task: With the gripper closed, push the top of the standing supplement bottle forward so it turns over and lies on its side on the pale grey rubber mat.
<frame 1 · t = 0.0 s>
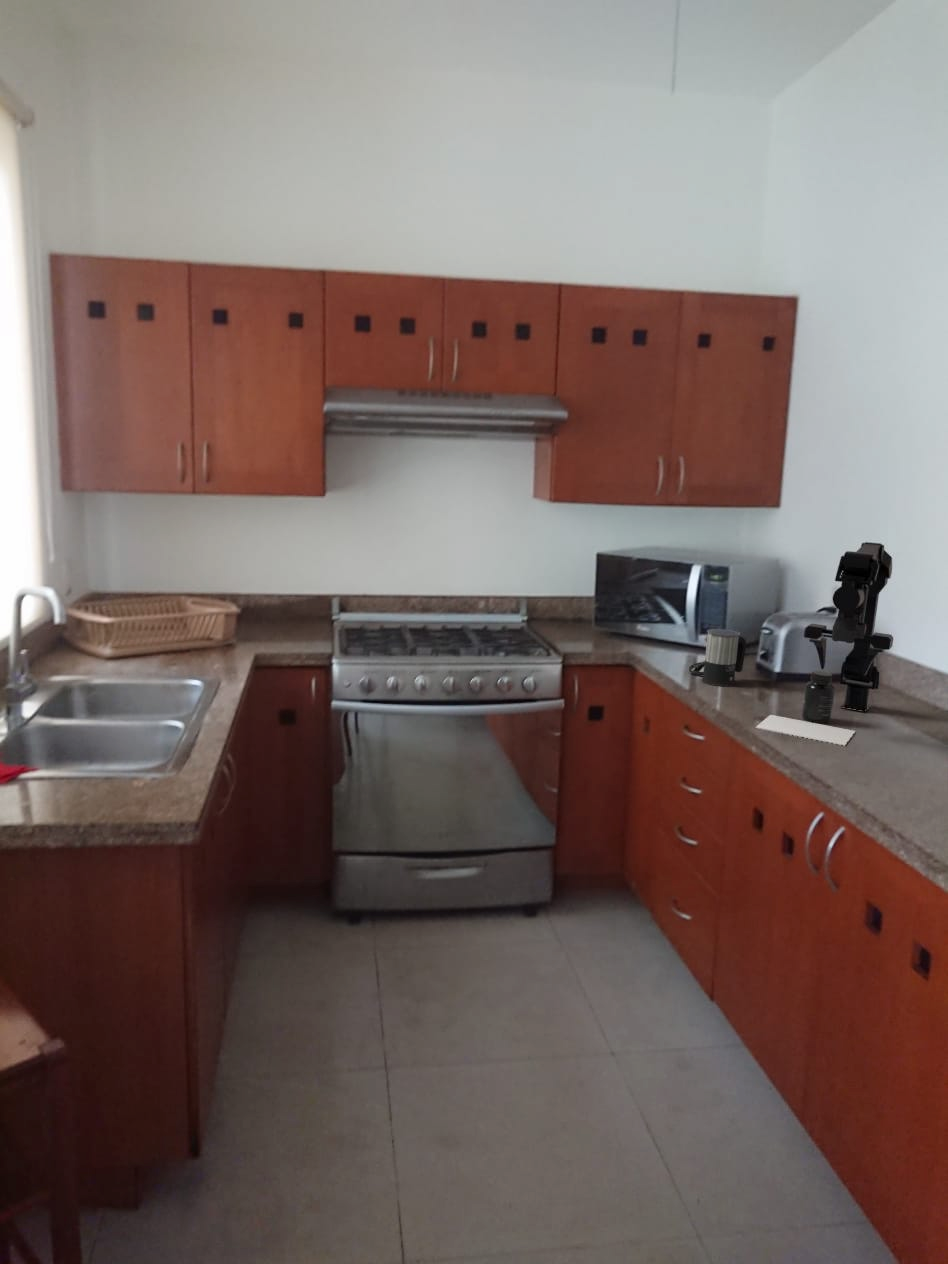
hand: (843, 672, 215), 15 cm above the worktop, tool pointing down, fingers open, 9 cm apart
milk frother: (710, 679, 265), on the worktop
supplement bottle: (815, 720, 228), on the worktop
mat: (805, 730, 218), on the worktop
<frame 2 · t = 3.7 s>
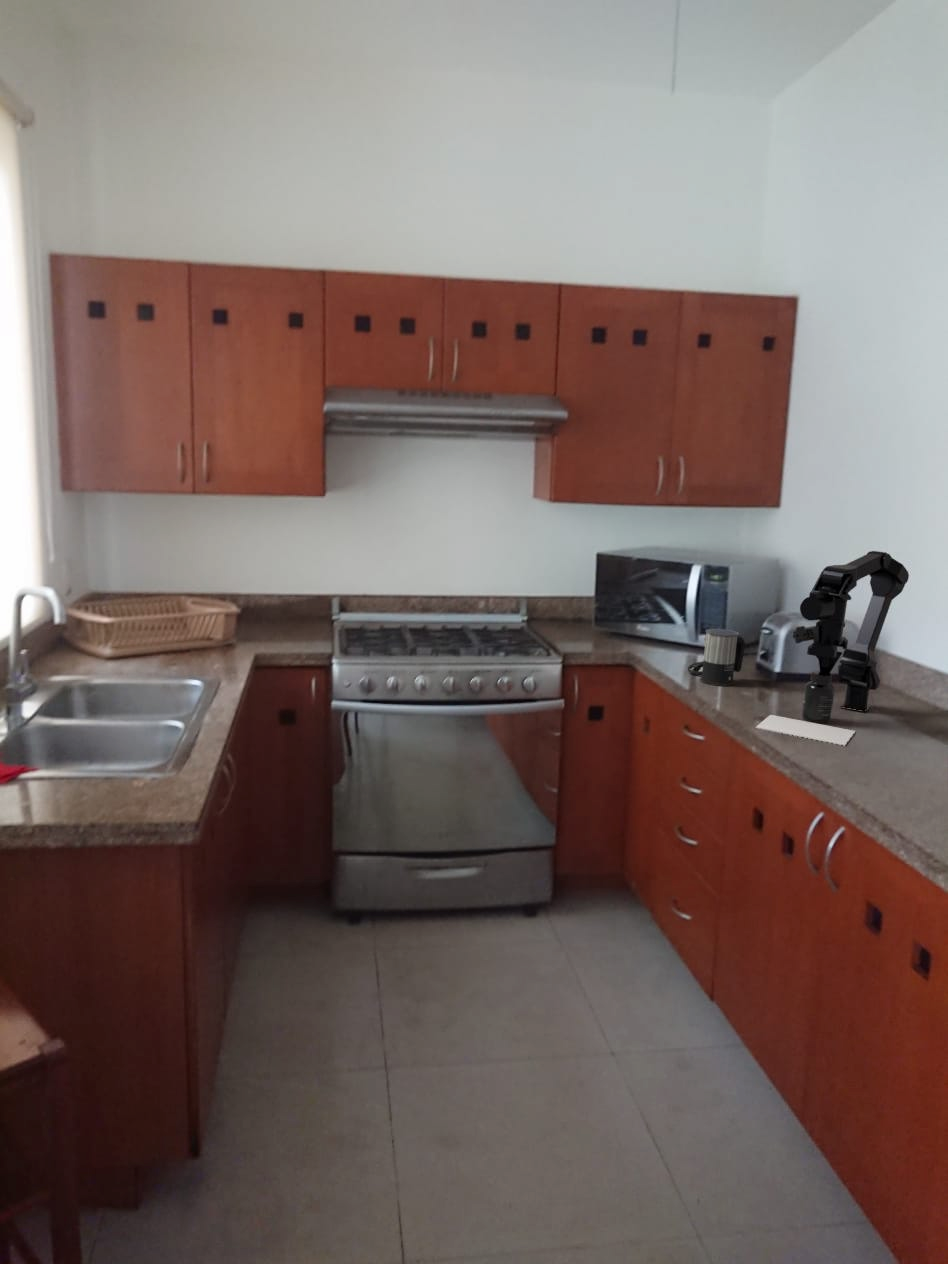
hand: (823, 679, 229), 10 cm above the worktop, tool pointing down, fingers closed
supplement bottle: (815, 720, 228), on the worktop, touching gripper
everything else where it was.
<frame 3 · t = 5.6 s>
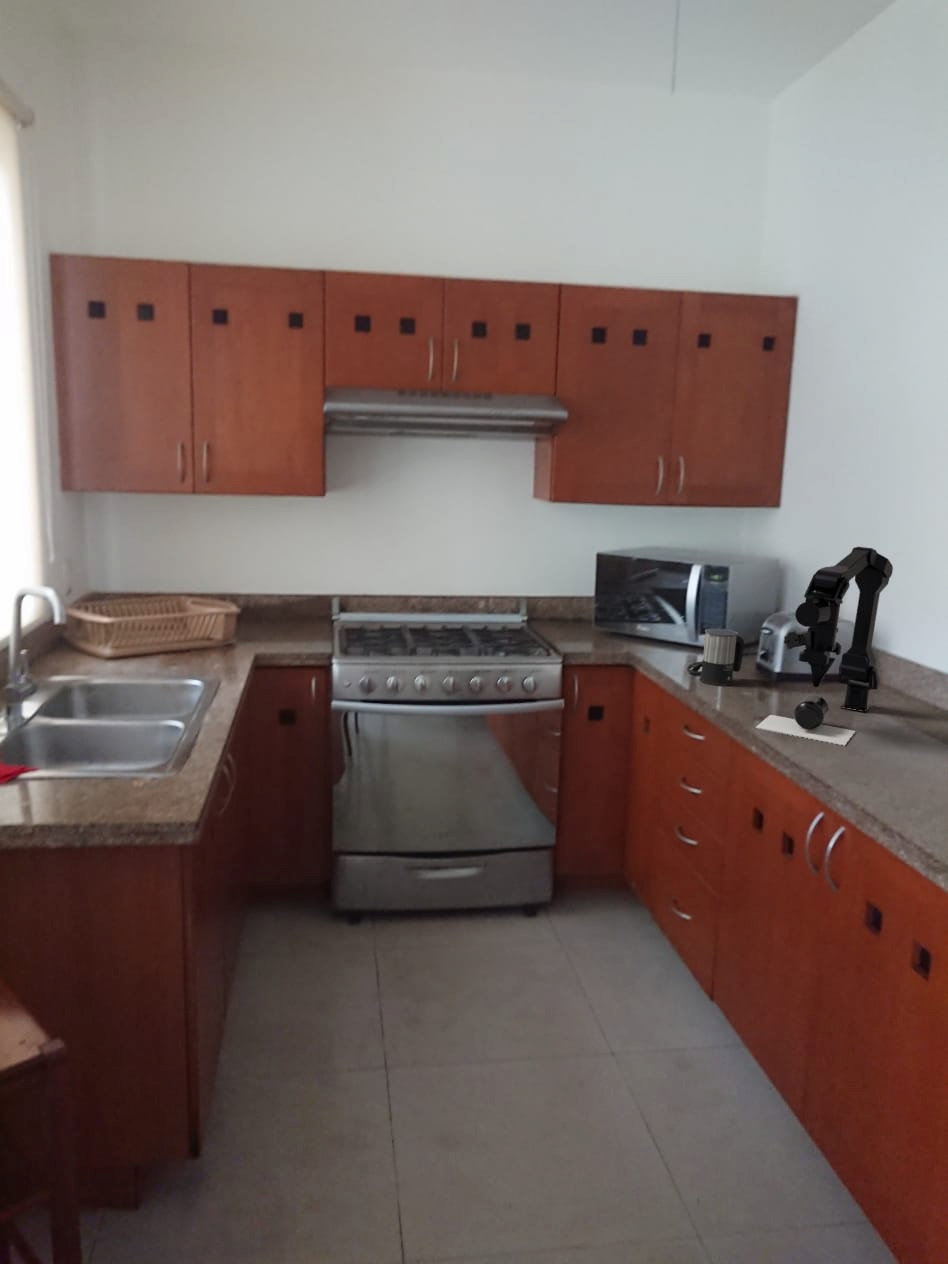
hand: (815, 686, 221), 10 cm above the worktop, tool pointing down, fingers closed
supplement bottle: (814, 708, 225), point 4 cm above the worktop, touching mat
everything else where it was.
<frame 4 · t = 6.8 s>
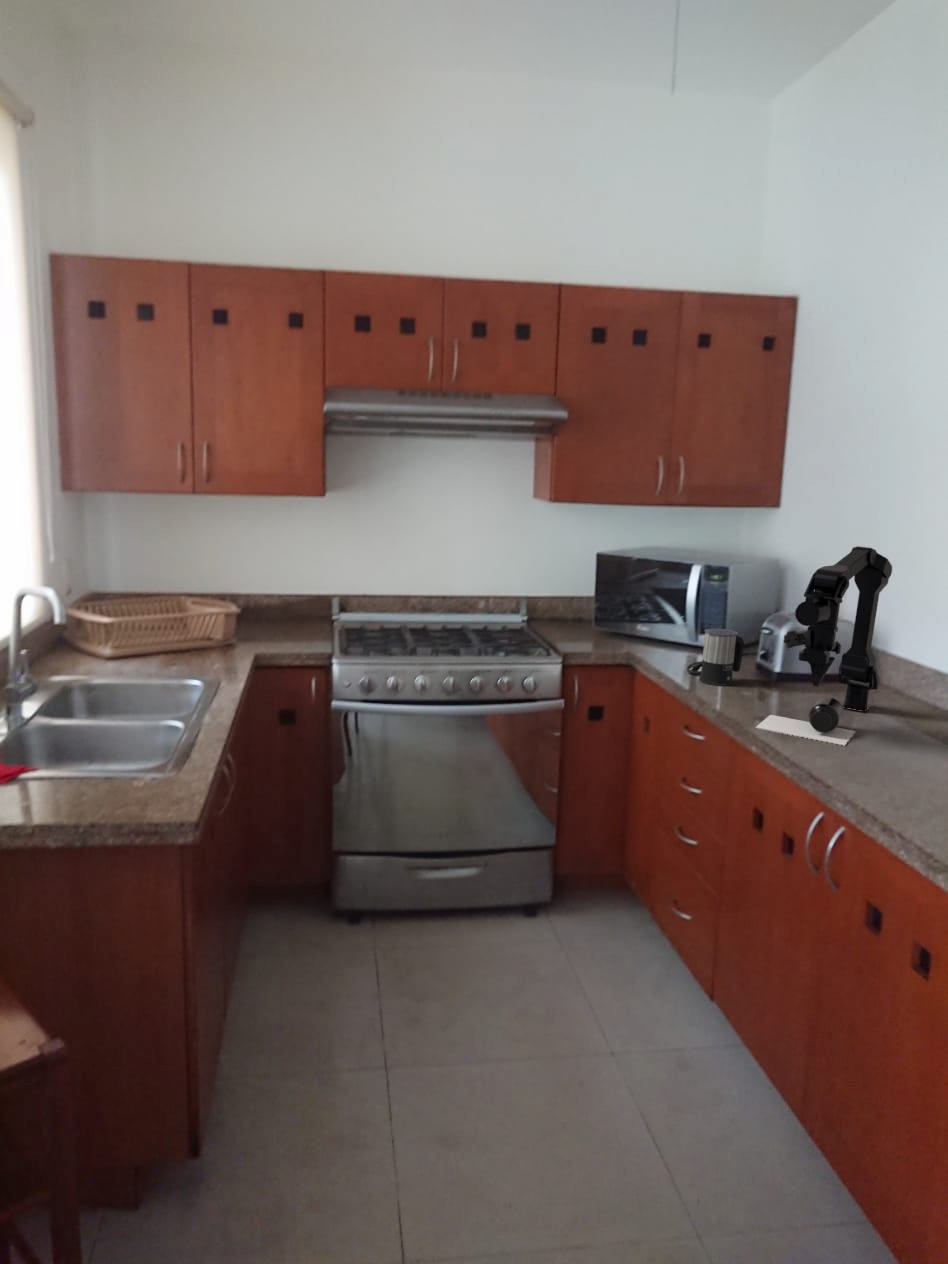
hand: (815, 685, 221), 10 cm above the worktop, tool pointing down, fingers closed
supplement bottle: (828, 710, 223), point 4 cm above the worktop, touching mat
everything else where it was.
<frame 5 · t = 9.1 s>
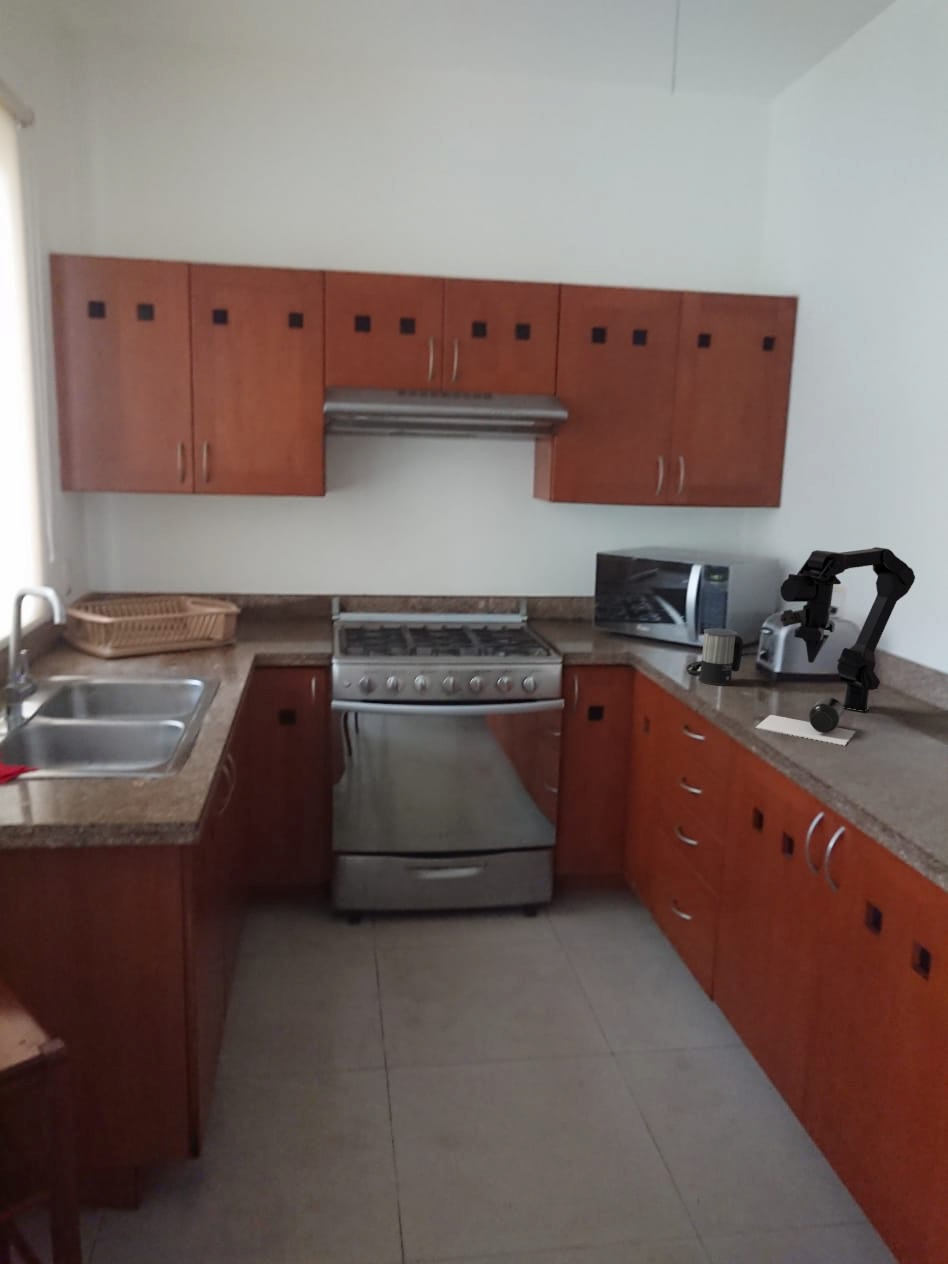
hand: (810, 662, 232), 13 cm above the worktop, tool pointing down, fingers closed
nothing on the worktop moved.
at the end: supplement bottle tilted 90°; supplement bottle touching mat; supplement bottle inside the target area (6.1 cm from its centre), point 3.7 cm above the worktop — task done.
